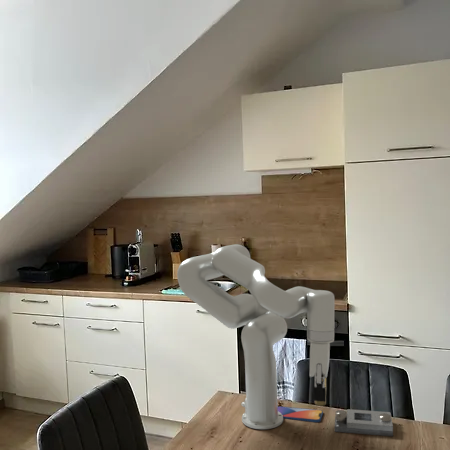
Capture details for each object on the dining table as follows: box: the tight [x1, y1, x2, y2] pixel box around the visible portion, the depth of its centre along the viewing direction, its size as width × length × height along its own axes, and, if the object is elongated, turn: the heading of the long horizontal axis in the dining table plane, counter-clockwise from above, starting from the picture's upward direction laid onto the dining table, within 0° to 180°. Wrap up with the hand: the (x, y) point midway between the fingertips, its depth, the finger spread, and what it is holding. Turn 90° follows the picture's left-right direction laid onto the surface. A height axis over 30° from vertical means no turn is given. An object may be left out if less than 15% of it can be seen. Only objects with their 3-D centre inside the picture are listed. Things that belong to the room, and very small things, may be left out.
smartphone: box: [278, 405, 324, 423], centre depth 154 cm, size 7×15×1 cm, turn 70°
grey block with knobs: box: [334, 408, 394, 437], centre depth 145 cm, size 16×9×4 cm, turn 75°
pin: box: [314, 374, 327, 407], centre depth 140 cm, size 3×3×10 cm
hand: (320, 397), depth 141 cm, fingers closed on pin, 3 cm apart
